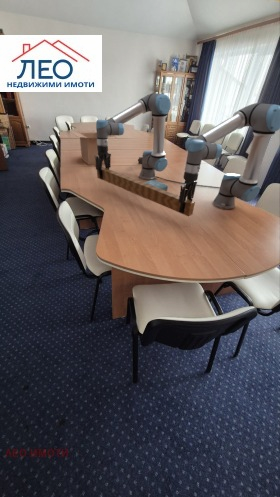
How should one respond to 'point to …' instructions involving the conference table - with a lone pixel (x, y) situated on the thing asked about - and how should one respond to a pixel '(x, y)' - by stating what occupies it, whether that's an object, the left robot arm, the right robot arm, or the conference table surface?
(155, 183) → the book
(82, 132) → the box
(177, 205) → the bar
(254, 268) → the conference table surface
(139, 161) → the laser sight
